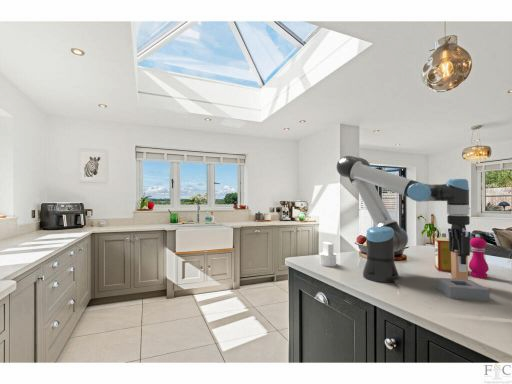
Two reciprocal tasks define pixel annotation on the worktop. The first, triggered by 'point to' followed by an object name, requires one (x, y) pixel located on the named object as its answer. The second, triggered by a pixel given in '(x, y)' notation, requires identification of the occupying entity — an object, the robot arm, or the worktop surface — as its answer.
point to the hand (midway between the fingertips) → (459, 270)
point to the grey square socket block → (462, 289)
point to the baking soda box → (442, 255)
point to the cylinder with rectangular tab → (327, 255)
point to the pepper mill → (478, 258)
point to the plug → (454, 267)
